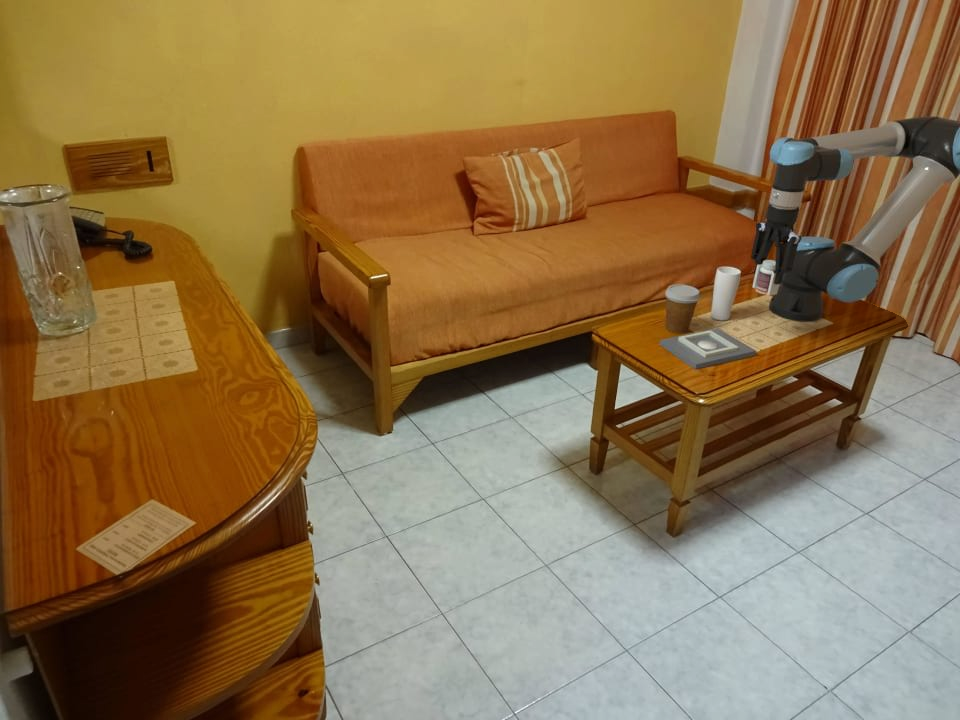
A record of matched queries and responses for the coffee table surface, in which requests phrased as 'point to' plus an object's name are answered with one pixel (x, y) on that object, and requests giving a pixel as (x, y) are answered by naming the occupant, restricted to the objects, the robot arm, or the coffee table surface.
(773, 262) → the pill bottle
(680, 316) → the disposable coffee cup
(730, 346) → the socket plate
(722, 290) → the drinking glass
